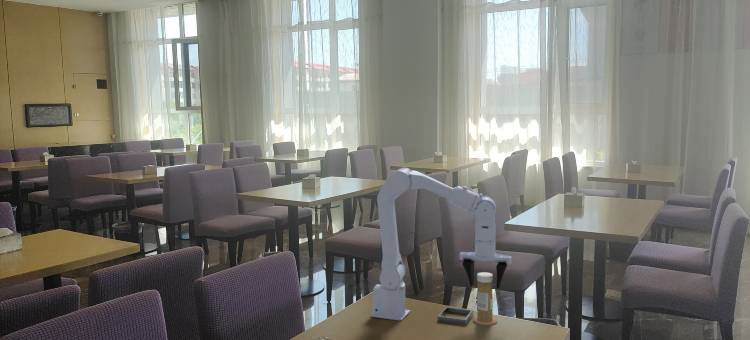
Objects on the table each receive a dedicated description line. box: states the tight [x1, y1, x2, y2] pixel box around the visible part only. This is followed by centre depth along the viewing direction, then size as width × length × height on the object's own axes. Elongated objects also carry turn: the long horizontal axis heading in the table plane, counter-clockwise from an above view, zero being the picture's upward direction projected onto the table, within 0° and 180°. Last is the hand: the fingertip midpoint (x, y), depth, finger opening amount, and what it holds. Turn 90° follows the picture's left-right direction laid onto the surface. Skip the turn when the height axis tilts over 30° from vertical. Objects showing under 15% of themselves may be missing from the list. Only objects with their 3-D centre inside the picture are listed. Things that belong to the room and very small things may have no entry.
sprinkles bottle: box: [476, 271, 494, 322], centre depth 165 cm, size 5×5×14 cm
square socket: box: [437, 306, 474, 326], centre depth 169 cm, size 8×8×2 cm
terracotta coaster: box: [472, 314, 498, 326], centre depth 166 cm, size 7×7×1 cm
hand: (485, 286), depth 165 cm, fingers open, 7 cm apart
